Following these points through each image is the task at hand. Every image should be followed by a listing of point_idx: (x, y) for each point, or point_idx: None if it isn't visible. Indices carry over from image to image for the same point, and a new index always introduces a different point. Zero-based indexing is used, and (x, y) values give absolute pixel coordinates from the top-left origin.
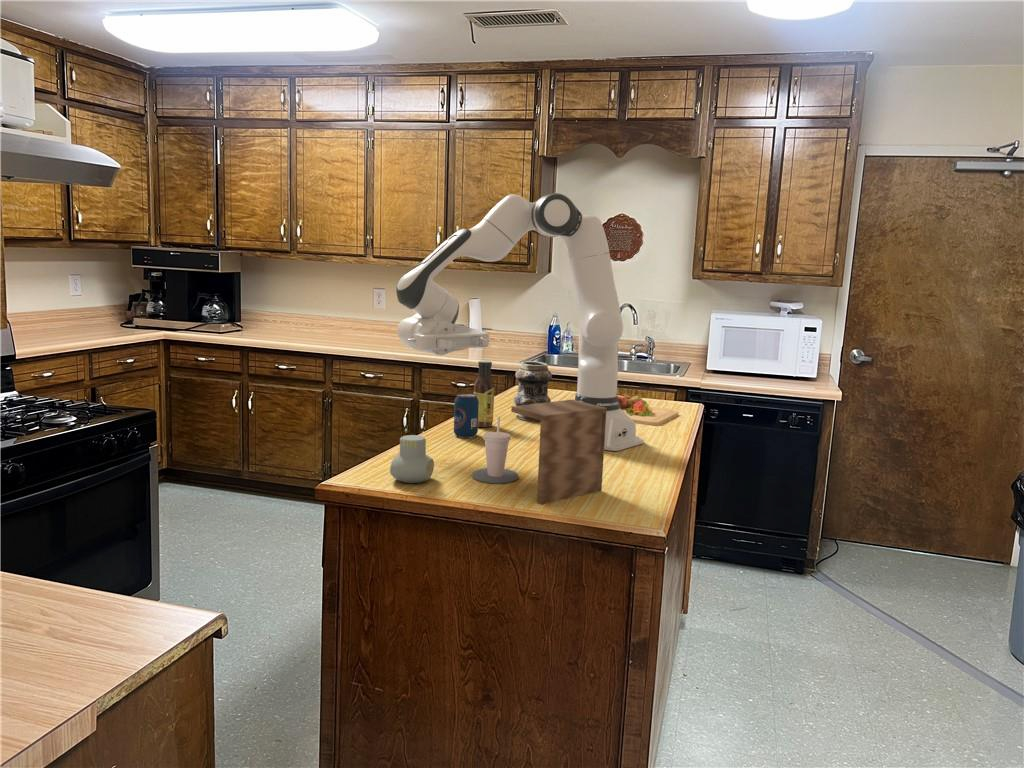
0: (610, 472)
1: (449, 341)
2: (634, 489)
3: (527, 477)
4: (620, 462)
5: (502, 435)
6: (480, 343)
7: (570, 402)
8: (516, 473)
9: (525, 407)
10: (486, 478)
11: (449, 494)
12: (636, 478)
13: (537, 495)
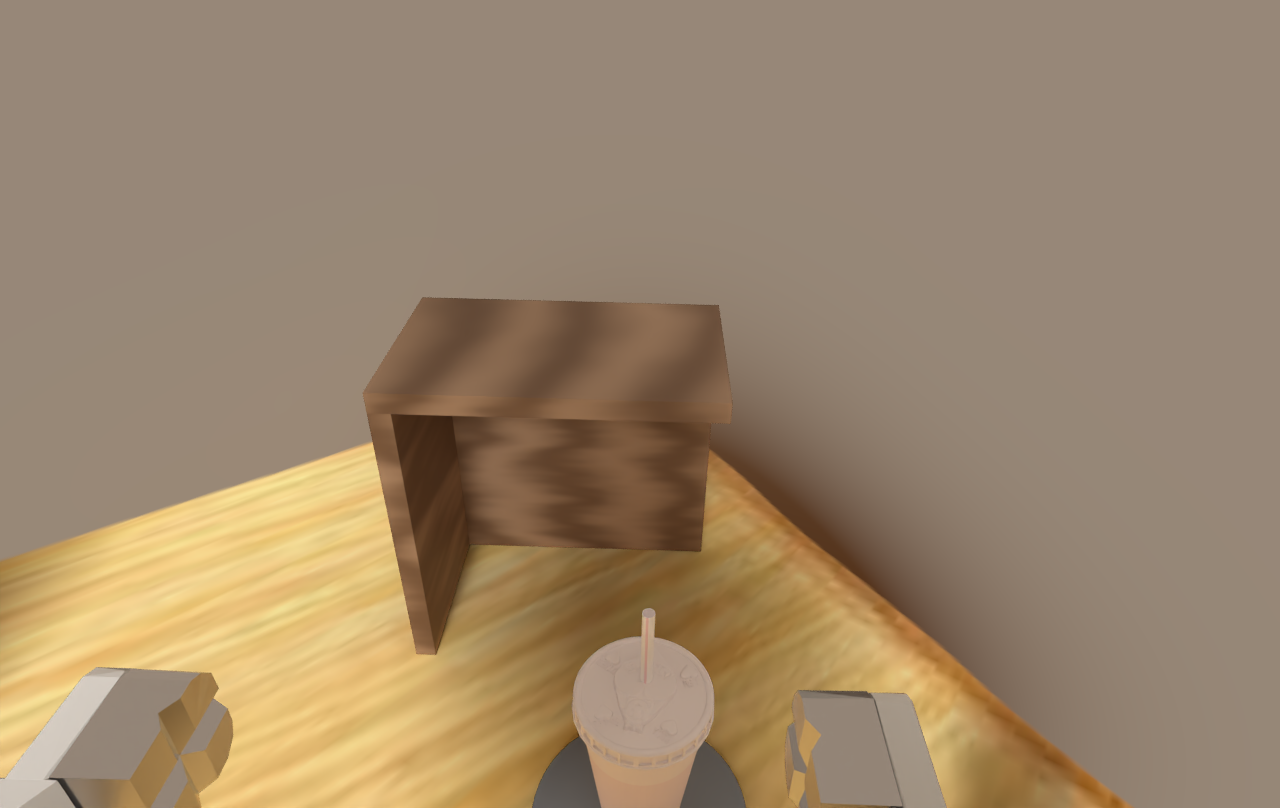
0: (220, 632)
1: (916, 735)
2: (370, 503)
3: (525, 744)
4: (20, 700)
5: (639, 655)
6: (184, 768)
7: (437, 368)
8: (547, 776)
9: (689, 377)
10: (711, 787)
11: (933, 735)
12: (244, 554)
13: (701, 533)
